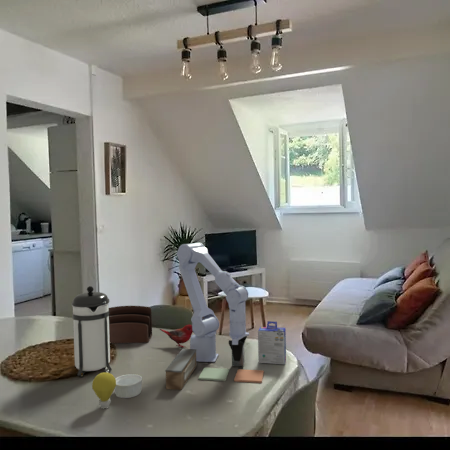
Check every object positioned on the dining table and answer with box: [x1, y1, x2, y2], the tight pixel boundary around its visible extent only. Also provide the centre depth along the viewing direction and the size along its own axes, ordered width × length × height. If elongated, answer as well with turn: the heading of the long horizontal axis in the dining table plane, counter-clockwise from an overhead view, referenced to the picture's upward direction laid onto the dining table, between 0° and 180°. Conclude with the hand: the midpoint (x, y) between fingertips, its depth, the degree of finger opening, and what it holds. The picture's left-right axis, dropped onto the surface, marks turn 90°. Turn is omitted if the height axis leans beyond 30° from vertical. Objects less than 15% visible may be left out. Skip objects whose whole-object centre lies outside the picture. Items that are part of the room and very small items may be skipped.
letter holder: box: [108, 305, 153, 344], centre depth 187 cm, size 10×20×14 cm, turn 90°
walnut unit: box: [164, 348, 197, 391], centre depth 145 cm, size 6×20×6 cm, turn 170°
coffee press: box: [71, 285, 112, 378], centre depth 153 cm, size 17×16×30 cm
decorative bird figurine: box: [159, 324, 193, 349], centre depth 176 cm, size 3×18×10 cm, turn 61°
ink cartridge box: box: [257, 320, 287, 365], centre depth 158 cm, size 10×6×14 cm, turn 78°
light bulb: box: [91, 371, 116, 409], centre depth 124 cm, size 7×7×10 cm
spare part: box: [231, 341, 245, 367], centre depth 154 cm, size 4×4×8 cm
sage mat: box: [197, 367, 230, 382], centre depth 146 cm, size 9×9×1 cm
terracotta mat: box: [233, 368, 265, 384], centre depth 144 cm, size 9×9×1 cm
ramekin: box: [114, 373, 143, 399], centre depth 134 cm, size 9×9×4 cm
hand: (238, 358), depth 154 cm, fingers closed on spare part, 4 cm apart
